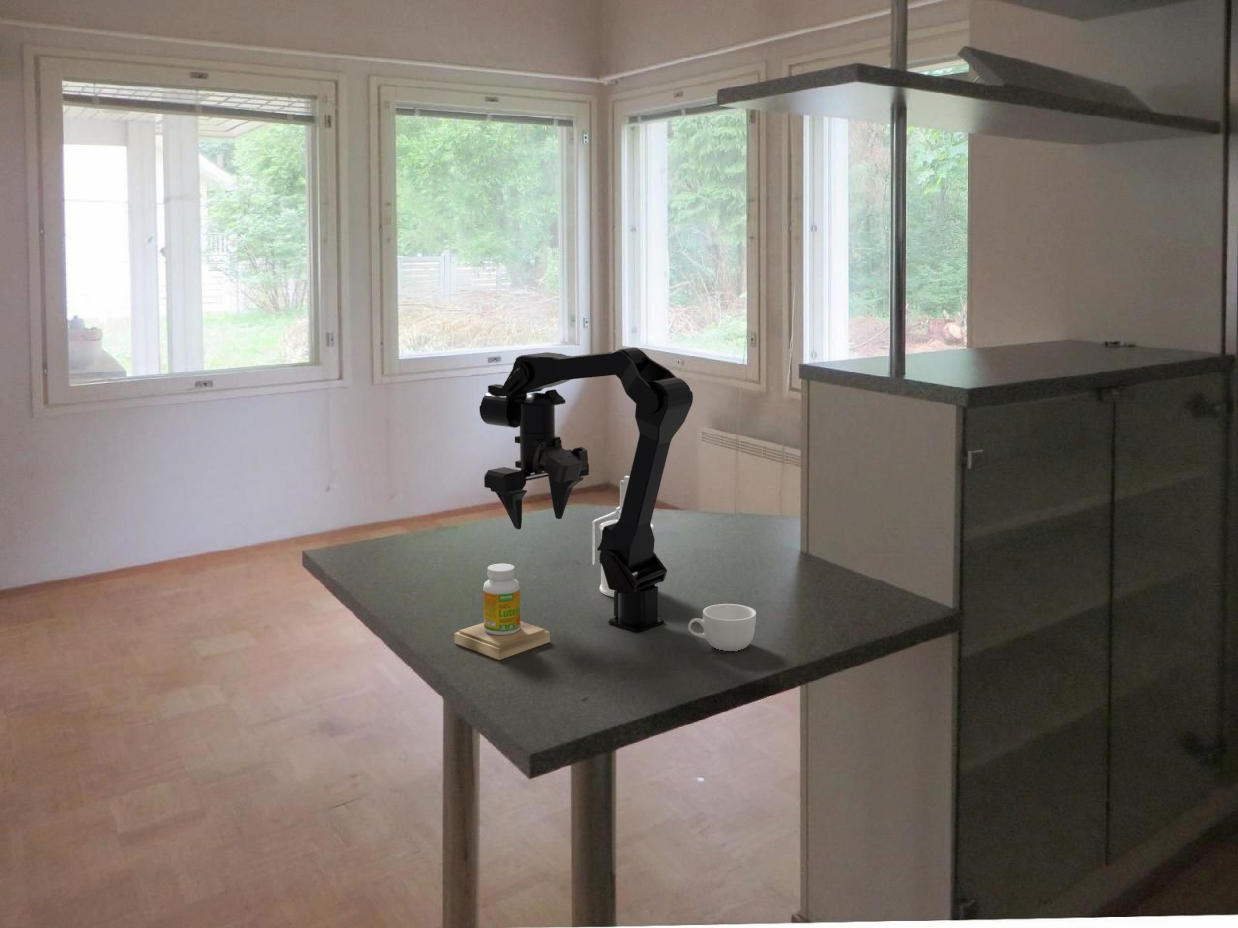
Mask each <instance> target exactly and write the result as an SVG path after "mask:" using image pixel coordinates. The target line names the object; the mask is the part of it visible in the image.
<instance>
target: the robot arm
mask: <svg viewBox="0 0 1238 928" xmlns="http://www.w3.org/2000/svg"><path fill="white" fill-rule="evenodd" d="M607 376H615V377H616V378H618V379H619V380H620V383H621V385H622V388H623V390H624V393H625V394H626V395H627V396H628V397H629V398H630V399H631V400H632V402H634V403H635V411H634V413H635V414H634V417H635V421H636V425H637V428H638V432H639V433H638V435H639V436H638V440H637V444H636V449H635V452H634V457H633V460H632V465H631V469H630V473H629V476H630V477H629V481H628V485H627V489H626V494H625V498H624V502H623V506H622V510H621V509H620V511H621V515H620V518H619V520H618V522H617V523H614V524H611V525H608V526H605V527H604V528H603V531H602V539H601V538H600V544H599V545H598V546H597V548H596V550H597V551H598V552H599V551H600V552H599V555H598V556H599V557H598V560H599V564H600V565H601V564H602V566H603V570H604V573H605V577H606V580H607V584H608V587H609V589H611V590H615V591H614V597H613V616H614V617H612V618H609V619H608V624H611V625H614V626H616V627H621V628H624V629H627V630H631V631H632V632H638V633H639V632H643V631H645V630H648V629H650V628H653V627H656V626H658V625H661V624H664V623H665V618H663V617H660V616H659V586H656V585H657V584H659V583H663V582H665V579H666V577H667V573H668V570H667V568H666V566H665V565H664V564H663V562H662V561H661V560H660V558H659V557H658V556H657V555H656V553H655V542H656V541H655V540H656V539H655V535H654V531H652V528H651V523H652V518H653V516H654V515H653V514H654V510H655V506H656V503H657V498H658V495H659V490H660V487H661V483H662V479H663V474H664V470H665V466H666V462H667V458H668V455H669V450H670V447H671V443H672V440H673V438H674V436H675V435H676V434H677V433H678V432H679V430H680V429H681V427H682V425H683V424H684V423H685V422H686V419H687V417H688V414H689V412H690V409H691V408H692V406H693V403H694V402H693V401H694V393H693V391H692V390H691V388H690V386H689V385H688V383H687V382H686V381H685V380H684V379H682V378H679V377H677V376H676V375H675V374H674V373H673V372H672V371H671V370H670V369H668V368H666V367H665V366H663V365H662V364H660V363H658V362H656V361H655V360H653V359H652V358H650V357H649V355H648V354H646V352H644V351H643V350H642V349H640V348H638V347H627V348H619V349H616V350H614V351H607V352H598V353H597V352H596V353H589V354H581V355H567V354H563V353H557V352H550V351H549V352H548V351H547V352H545V351H544V352H538V353H529V354H521V355H519V356H517V357H516V358H515V361H514V362H513V366H512V370H511V371H510V373H509V375H508V376H507V377H506V380H505V382H504V383H503V384H498V383H494V384H489V385H487V393H486V394H484V396H483V397H482V400H481V402H480V405H479V416H480V418H481V420H482V421H483V422H484V424H486V425H491V426H498V427H506V428H507V427H508V428H513V429H515V428H516V429H517V428H519V435H517V436H514V443H516V444H519V454H520V455H519V457H520V458H519V460H515V461H514V462H515V463H514V464H515V468H517V469H515V468H511V467H506V466H505V467H504V466H502V467H498V468H493V469H488V470H487V471H486V473H485V474H484V477H483V478H484V479H483V481H484V482H483V483H484V488H487V489H490V491H491V492H493V493H495V494H496V496H497V497H498V499H499V500H500V502H501V504H502V505H503V507H504V509H505V511H506V513H507V515H508V517H509V519H510V521H511V522H512V524H513V527H514V529H515V530H521V529H522V525H523V524H522V523H523V522H522V521H523V499H524V497H525V496H526V494H527V492H528V490H526V489H524V488H525V486H526V485H527V482H528V481H533V480H536V479H537V480H538V479H542V478H546V477H548V484H549V489H550V494H551V495H550V496H551V501H552V508H553V513H554V516H555V518H556V519H558V520H561V519H562V518H563V516H564V513H565V510H566V508H567V504H568V501H569V498H570V495H571V494H572V493H571V492H572V491H573V489H574V487H575V486H577V484H578V483H580V482H582V481H583V480H584V477H585V476H590V467H589V466H590V464H589V457H588V456H589V455H588V449H586V448H584V447H583V446H579V447H575V448H573V449H565V448H564V447H563V445H562V439H561V436H556V424H555V423H556V419H555V418H556V415H555V413H556V411H555V410H556V408H555V407H556V406H560V405H564V404H566V399H565V398H564V397H563V396H562V395H560V394H559V392H558V391H557V389H548V388H553V387H556V386H560V385H561V384H565V383H567V382H570V381H571V380H579V379H587V378H599V377H607ZM544 389H548V390H546V391H545V392H544V393H543V392H541V391H542V390H544ZM529 393H530V394H529ZM635 572H637V573H638V574H636V575H633V573H635Z"/></svg>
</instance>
